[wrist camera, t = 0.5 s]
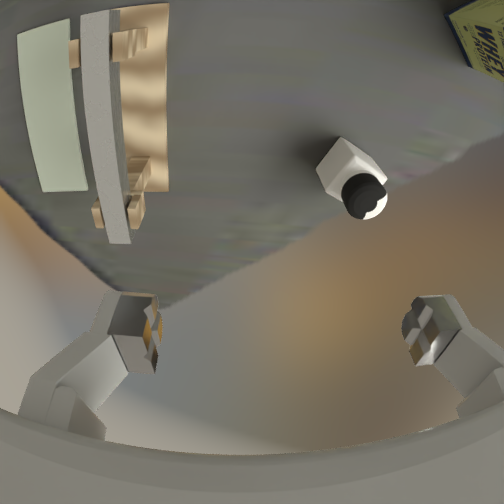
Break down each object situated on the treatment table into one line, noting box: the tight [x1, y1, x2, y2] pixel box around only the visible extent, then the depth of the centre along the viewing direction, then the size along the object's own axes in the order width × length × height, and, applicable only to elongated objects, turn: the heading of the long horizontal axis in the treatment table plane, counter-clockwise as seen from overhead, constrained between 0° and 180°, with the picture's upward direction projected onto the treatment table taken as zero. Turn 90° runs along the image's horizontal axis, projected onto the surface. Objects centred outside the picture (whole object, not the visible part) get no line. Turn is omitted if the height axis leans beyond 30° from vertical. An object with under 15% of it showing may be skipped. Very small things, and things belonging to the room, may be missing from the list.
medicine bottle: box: [316, 137, 387, 219], centre depth 43 cm, size 7×7×12 cm
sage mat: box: [17, 19, 88, 192], centre depth 37 cm, size 30×10×1 cm, turn 174°
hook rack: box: [68, 3, 169, 229], centre depth 33 cm, size 30×8×15 cm, turn 174°
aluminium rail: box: [80, 10, 136, 244], centre depth 29 cm, size 28×3×3 cm, turn 174°
